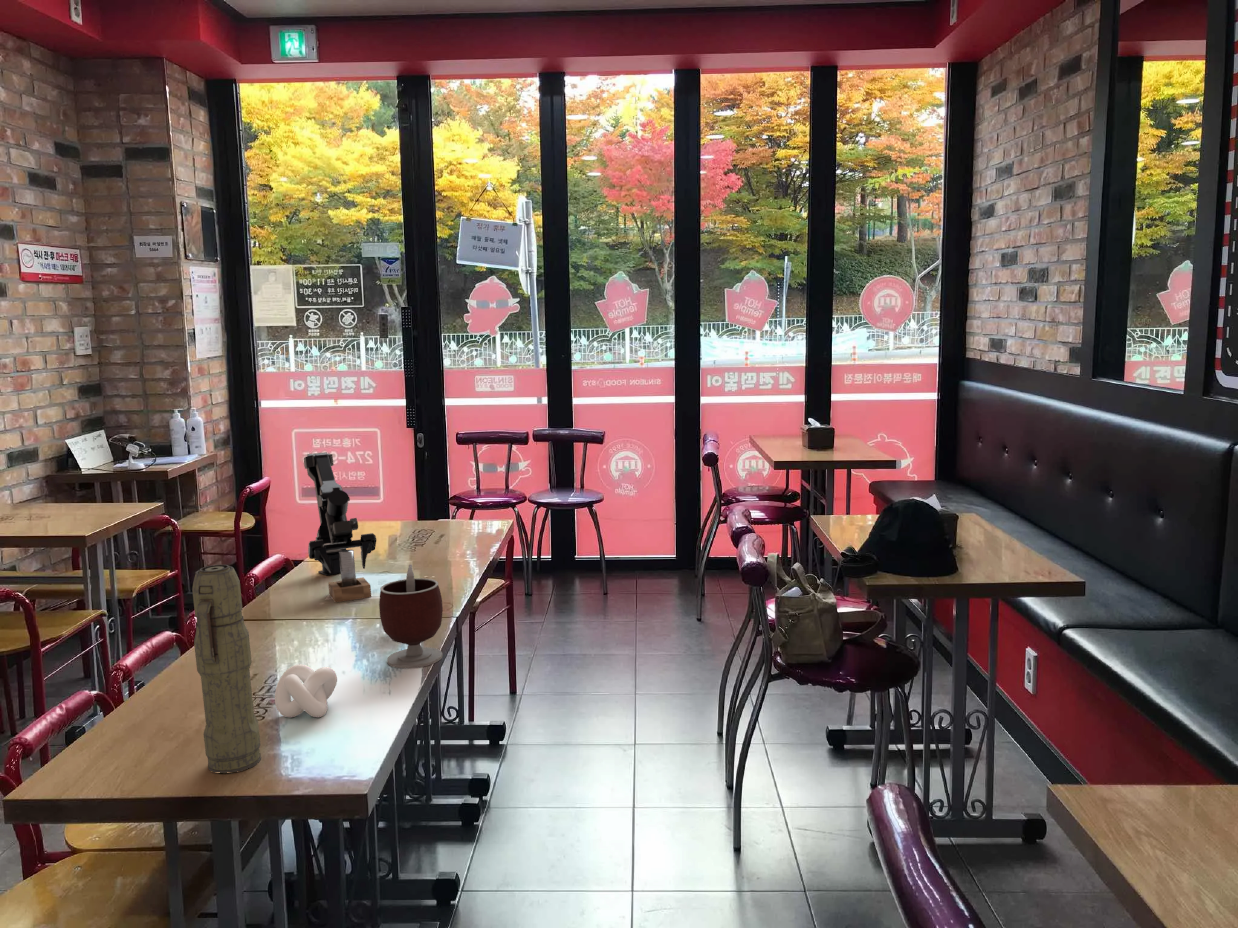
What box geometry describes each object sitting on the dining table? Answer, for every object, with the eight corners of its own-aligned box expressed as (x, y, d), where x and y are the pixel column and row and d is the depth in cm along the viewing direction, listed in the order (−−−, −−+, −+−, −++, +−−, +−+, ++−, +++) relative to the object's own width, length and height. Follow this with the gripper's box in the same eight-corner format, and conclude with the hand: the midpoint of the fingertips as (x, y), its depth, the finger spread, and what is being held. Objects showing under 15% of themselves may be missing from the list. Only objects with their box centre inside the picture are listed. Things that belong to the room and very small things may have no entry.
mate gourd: (445, 665, 215) (439, 578, 212) (381, 672, 213) (374, 583, 210) (446, 644, 230) (440, 561, 227) (386, 649, 228) (379, 566, 225)
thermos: (196, 780, 164) (174, 578, 159) (220, 750, 175) (199, 561, 170) (250, 776, 164) (229, 575, 159) (270, 746, 176) (251, 558, 171)
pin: (339, 596, 276) (335, 552, 275) (349, 593, 280) (346, 549, 278) (350, 598, 275) (346, 553, 273) (360, 594, 278) (356, 550, 276)
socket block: (329, 594, 280) (328, 582, 279) (364, 588, 284) (363, 577, 283) (335, 602, 271) (334, 590, 270) (371, 596, 275) (370, 584, 274)
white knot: (340, 720, 187) (336, 675, 186) (274, 730, 184) (269, 684, 182) (339, 699, 198) (335, 657, 196) (277, 708, 194) (273, 665, 193)
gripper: (306, 513, 275) (315, 559, 266) (372, 505, 283) (383, 550, 274) (304, 535, 283) (313, 580, 275) (369, 527, 291) (379, 571, 282)
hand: (347, 570), depth 276 cm, fingers open, 9 cm apart
